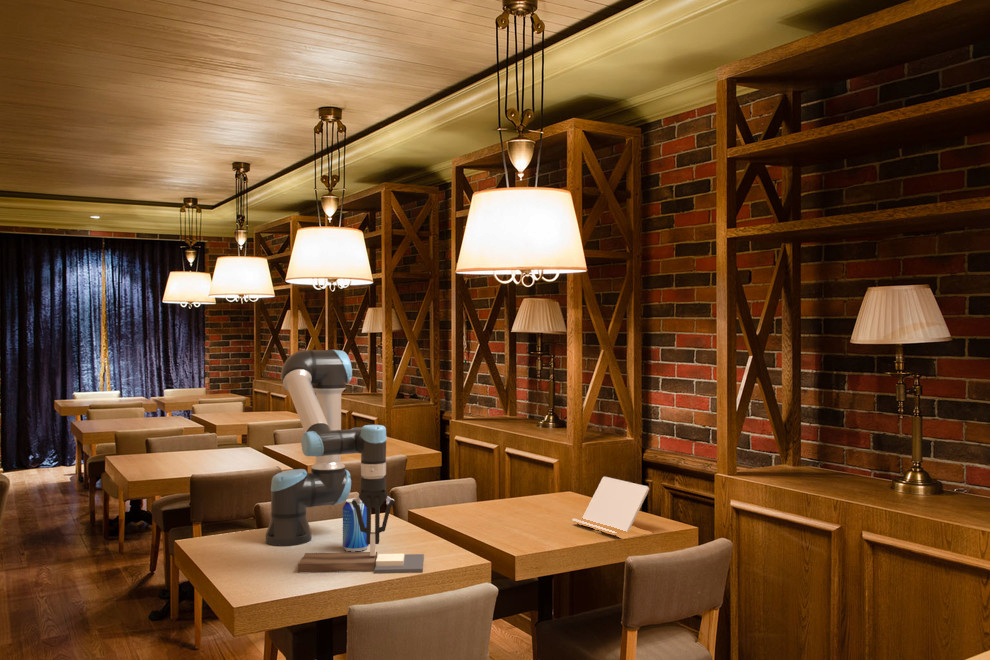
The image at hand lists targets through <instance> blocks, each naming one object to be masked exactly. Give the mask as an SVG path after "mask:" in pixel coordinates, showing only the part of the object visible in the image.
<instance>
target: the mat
mask: <svg viewBox="0 0 990 660" xmlns="http://www.w3.org/2000/svg"><path fill="white" fill-rule="evenodd" d="M403 554H404V563H403V566H375V569H374V571H373V572H374V574H398V573H399V574H401V573H402V574H405V573H407V574H408V573H409V574H411V573H423V572H424V571H423V570H424V560H425V559H424V557H425V554H423V553H417V554H416V553H414V554H413V553H412V554H410V553H409V554H406V553H403Z"/></svg>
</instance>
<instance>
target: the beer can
mask: <svg viewBox="0 0 990 660" xmlns="http://www.w3.org/2000/svg"><path fill="white" fill-rule="evenodd" d="M356 498H357V497H353V498H347V500H346V501H345V502H344V505H343V506H342V547H343V549H344V550H346V551H345V552H348V551H351V552H355V551H361V552H363V551H362V550H364V551H366V550H367V548H369V547H370V544H367V543H366V533H365V532H361V531H360V527H359V522H358V518H357V514H356V510H355V507H354V506H353V504H352V501H353V499H356ZM360 509H361V513H362V517H363V521H364V525H365V527H366V522H367V507H366V506H365V505H364V504H363V502H362V501H361V500H360Z"/></svg>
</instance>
